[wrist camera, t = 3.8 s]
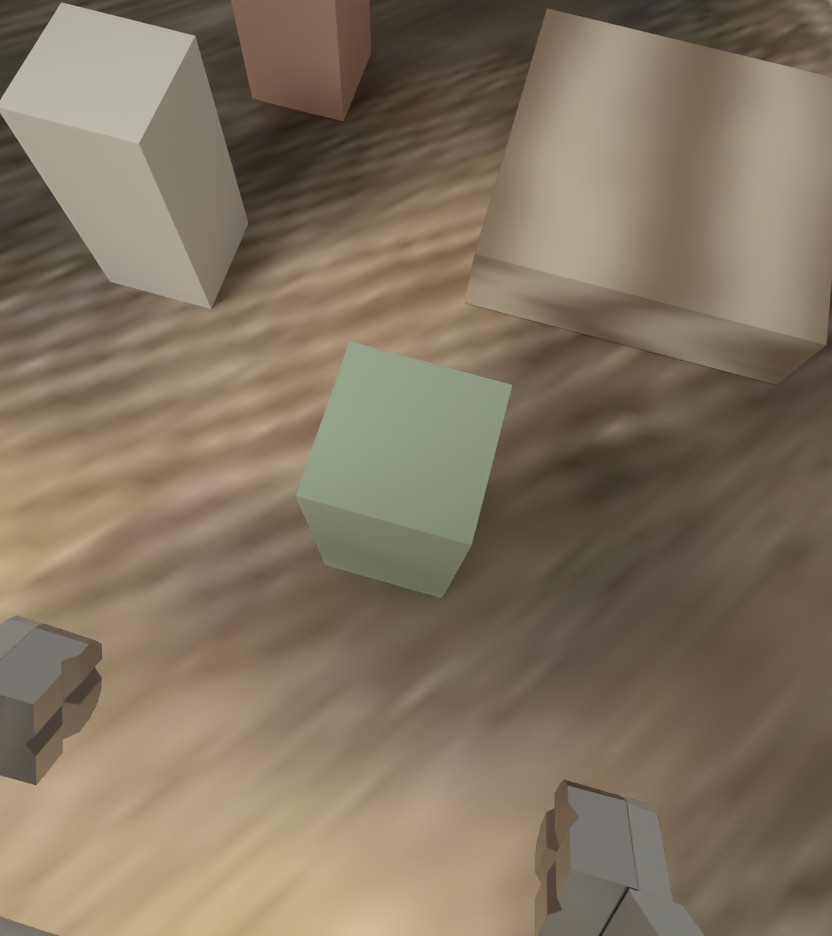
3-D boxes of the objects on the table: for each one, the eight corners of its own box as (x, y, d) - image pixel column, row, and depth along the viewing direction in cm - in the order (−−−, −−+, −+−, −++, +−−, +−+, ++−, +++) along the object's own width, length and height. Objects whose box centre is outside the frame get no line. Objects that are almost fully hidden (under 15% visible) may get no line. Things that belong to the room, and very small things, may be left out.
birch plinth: (464, 302, 26) (474, 253, 23) (531, 74, 30) (546, 8, 27) (777, 384, 25) (826, 344, 23) (804, 141, 29) (848, 81, 27)
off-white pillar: (110, 281, 26) (-4, 106, 18) (151, 198, 27) (61, 2, 19) (211, 308, 26) (138, 143, 18) (248, 223, 27) (195, 35, 19)
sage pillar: (324, 565, 23) (295, 495, 15) (360, 455, 24) (349, 340, 16) (442, 598, 22) (471, 545, 15) (471, 486, 24) (512, 384, 16)
